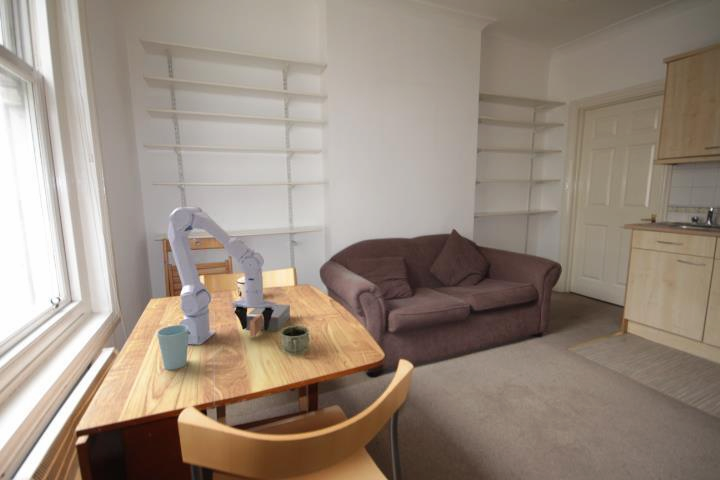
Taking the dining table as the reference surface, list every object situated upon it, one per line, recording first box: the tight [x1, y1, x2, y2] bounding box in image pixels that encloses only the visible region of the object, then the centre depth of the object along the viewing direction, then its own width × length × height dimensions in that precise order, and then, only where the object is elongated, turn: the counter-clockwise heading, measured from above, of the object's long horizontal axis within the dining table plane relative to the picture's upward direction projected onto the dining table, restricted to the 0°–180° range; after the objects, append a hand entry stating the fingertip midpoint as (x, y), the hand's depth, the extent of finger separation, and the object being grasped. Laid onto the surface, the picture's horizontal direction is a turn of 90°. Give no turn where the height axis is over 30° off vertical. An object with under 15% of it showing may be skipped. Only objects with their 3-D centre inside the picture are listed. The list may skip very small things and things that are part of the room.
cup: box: [156, 324, 189, 371], centre depth 93 cm, size 8×8×10 cm
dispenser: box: [245, 303, 291, 332], centre depth 124 cm, size 14×12×6 cm
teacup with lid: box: [236, 275, 245, 301], centre depth 153 cm, size 12×9×12 cm
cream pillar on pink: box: [249, 314, 264, 337], centre depth 120 cm, size 20×2×5 cm, turn 175°
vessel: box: [280, 325, 310, 356], centre depth 104 cm, size 12×9×6 cm
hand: (255, 328), depth 112 cm, fingers open, 7 cm apart
